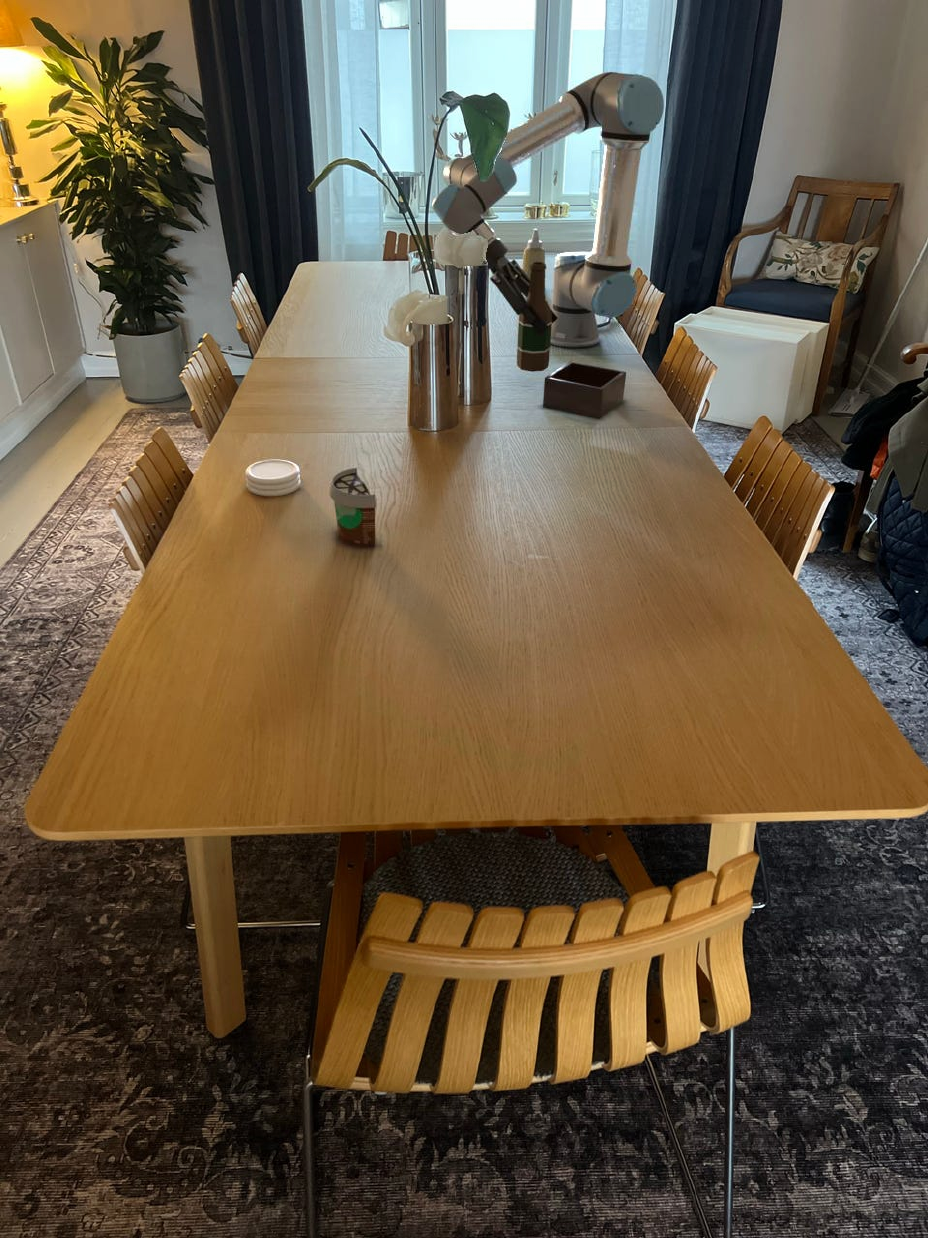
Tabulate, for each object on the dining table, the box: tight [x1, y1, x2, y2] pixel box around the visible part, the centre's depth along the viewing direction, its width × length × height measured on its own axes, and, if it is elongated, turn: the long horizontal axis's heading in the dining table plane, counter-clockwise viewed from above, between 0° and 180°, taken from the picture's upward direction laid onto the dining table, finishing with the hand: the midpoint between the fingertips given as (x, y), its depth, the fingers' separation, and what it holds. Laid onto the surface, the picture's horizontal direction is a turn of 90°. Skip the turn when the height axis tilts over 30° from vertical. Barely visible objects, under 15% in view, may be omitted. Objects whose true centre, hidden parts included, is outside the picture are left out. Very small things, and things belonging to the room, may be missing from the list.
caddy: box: [542, 361, 627, 420], centre depth 219 cm, size 14×14×7 cm
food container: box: [328, 467, 377, 548], centre depth 161 cm, size 12×6×10 cm, turn 21°
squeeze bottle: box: [521, 228, 546, 278], centre depth 308 cm, size 8×8×18 cm
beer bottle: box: [516, 262, 552, 373], centre depth 224 cm, size 8×8×24 cm
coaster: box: [244, 459, 301, 498], centre depth 179 cm, size 10×10×4 cm
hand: (549, 326), depth 224 cm, fingers closed on beer bottle, 7 cm apart
